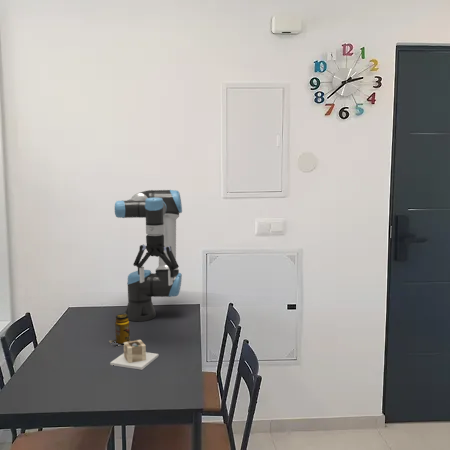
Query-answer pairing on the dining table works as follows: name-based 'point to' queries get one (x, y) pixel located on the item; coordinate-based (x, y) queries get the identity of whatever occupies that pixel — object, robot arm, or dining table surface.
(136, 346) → the wooden hollow block
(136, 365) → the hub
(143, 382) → the dining table surface
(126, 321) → the condiment
